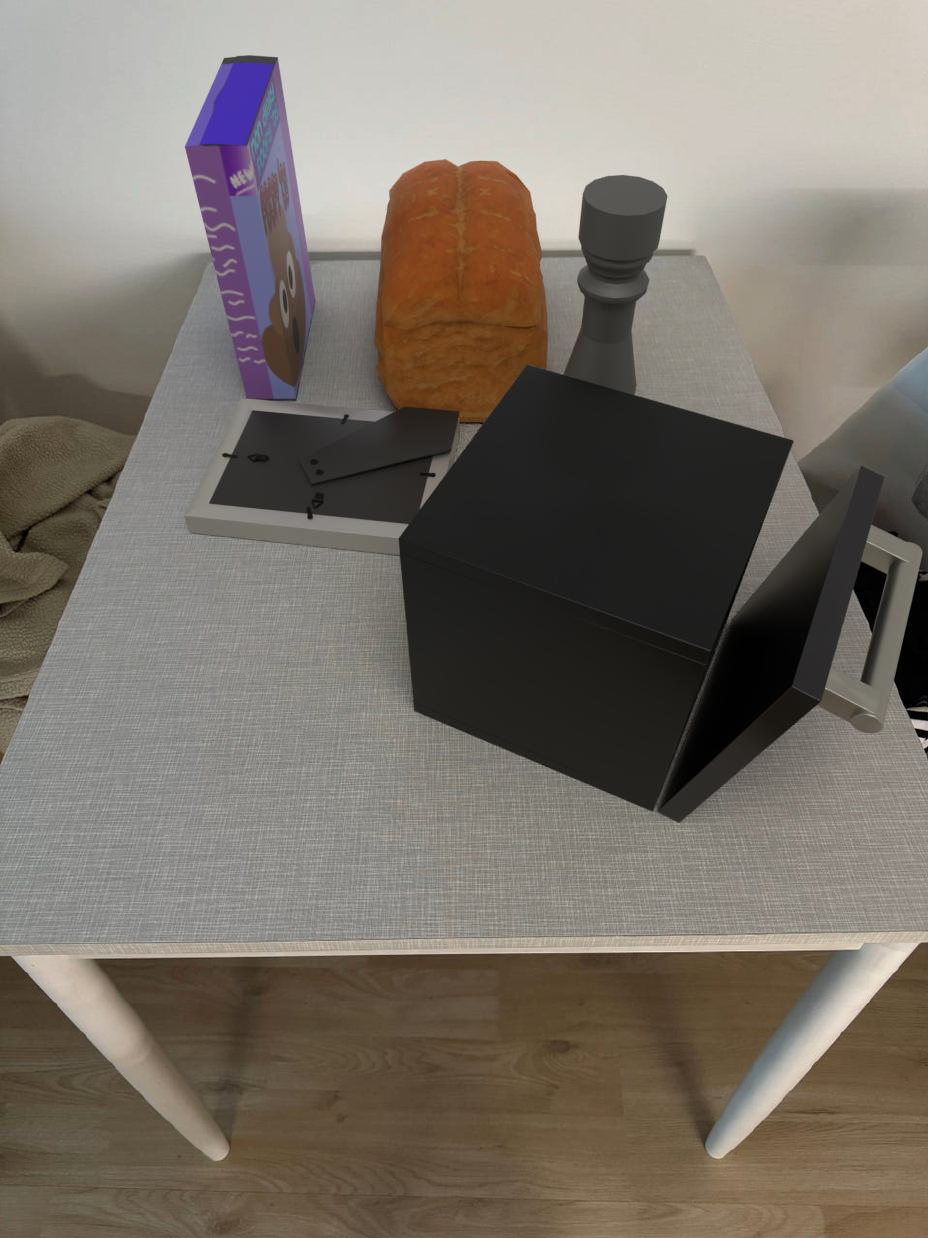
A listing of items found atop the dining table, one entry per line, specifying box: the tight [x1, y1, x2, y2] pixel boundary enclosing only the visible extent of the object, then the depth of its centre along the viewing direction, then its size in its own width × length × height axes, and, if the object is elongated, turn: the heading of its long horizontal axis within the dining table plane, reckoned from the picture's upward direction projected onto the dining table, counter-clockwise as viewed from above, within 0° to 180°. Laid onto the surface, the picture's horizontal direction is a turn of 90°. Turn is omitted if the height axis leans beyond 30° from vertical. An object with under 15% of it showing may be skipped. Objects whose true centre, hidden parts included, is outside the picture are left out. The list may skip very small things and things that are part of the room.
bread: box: [373, 158, 549, 423], centre depth 85 cm, size 16×27×16 cm, turn 1°
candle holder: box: [562, 174, 668, 395], centre depth 69 cm, size 6×6×25 cm
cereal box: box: [184, 54, 316, 402], centre depth 81 cm, size 17×5×24 cm, turn 0°
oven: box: [399, 364, 794, 812], centre depth 58 cm, size 18×18×18 cm
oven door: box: [658, 465, 923, 824], centre depth 55 cm, size 6×18×18 cm, turn 154°
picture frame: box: [183, 397, 461, 556], centre depth 77 cm, size 16×3×21 cm
